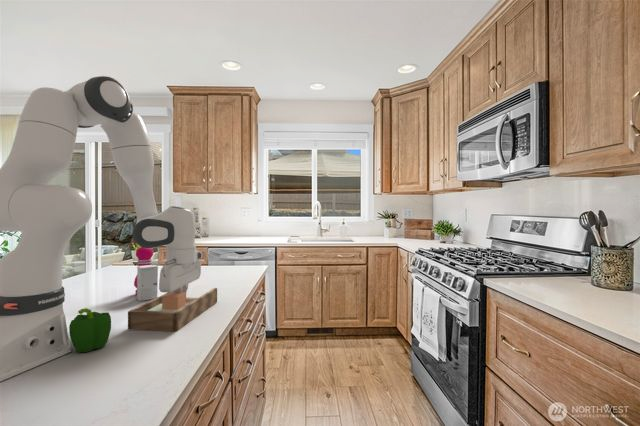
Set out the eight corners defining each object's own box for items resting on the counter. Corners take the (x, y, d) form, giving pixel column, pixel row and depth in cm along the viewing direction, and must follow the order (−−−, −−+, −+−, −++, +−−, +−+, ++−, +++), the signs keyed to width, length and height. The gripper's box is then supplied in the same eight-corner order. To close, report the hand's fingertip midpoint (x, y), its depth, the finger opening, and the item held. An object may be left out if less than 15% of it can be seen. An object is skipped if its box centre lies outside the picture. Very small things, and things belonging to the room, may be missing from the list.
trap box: (176, 331, 89) (176, 313, 89) (127, 329, 90) (127, 311, 90) (217, 301, 117) (217, 288, 117) (179, 300, 118) (179, 286, 118)
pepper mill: (159, 291, 130) (158, 241, 129) (147, 296, 123) (147, 243, 122) (141, 291, 131) (141, 241, 130) (129, 296, 123) (129, 243, 123)
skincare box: (140, 301, 116) (140, 267, 116) (136, 299, 120) (136, 266, 119) (158, 298, 121) (158, 265, 120) (154, 295, 124) (154, 264, 124)
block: (178, 309, 98) (178, 296, 98) (162, 309, 99) (162, 296, 99) (186, 304, 103) (186, 292, 103) (170, 304, 104) (170, 291, 104)
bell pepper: (104, 338, 84) (104, 299, 84) (116, 347, 79) (116, 306, 79) (64, 348, 78) (63, 307, 78) (74, 359, 72) (73, 314, 72)
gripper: (173, 262, 95) (173, 309, 95) (204, 252, 115) (204, 291, 115) (153, 261, 95) (153, 308, 95) (187, 252, 115) (187, 290, 116)
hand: (181, 299), depth 105 cm, fingers closed
